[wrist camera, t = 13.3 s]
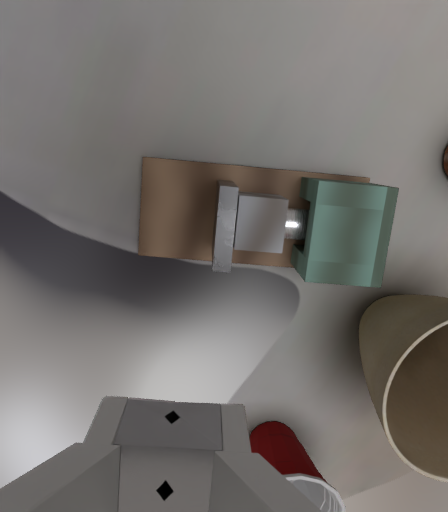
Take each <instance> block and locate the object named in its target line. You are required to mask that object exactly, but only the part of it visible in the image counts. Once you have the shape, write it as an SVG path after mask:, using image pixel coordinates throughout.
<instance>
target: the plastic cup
mask: <svg viewBox="0 0 448 512" xmlns="http://www.w3.org/2000/svg"><path fill="white" fill-rule="evenodd" d="M249 439H250V446H251V453H258V454H260V455H261V456H262V457H263V458H264V459H265V460H266V461H267V462H268V463H270V464H271V465H272V466H273V467H274V468H275V469H276V470H277V471H278V472H279V473H281V474H282V475H283V476H284V477H285V478H286V479H287V480H288V481H289V482H290V483H292V484H293V485H294V486H295V487H296V488H297V489H298V490H299V491H300V492H301V493H302V494H304V495H305V496H306V497H307V498H308V499H309V500H310V501H311V502H312V503H313V504H315V505H316V506H317V507H318V508H319V509H320V510H321V511H322V512H345V505H344V503H343V501H342V499H341V497H340V495H339V493H338V491H337V490H336V489H335V488H333V487H332V486H331V485H329V484H328V483H327V482H326V480H325V479H323V477H322V475H321V474H320V473H319V472H318V470H317V469H316V467H315V466H314V464H313V462H312V461H311V459H310V457H309V456H308V454H307V452H306V451H305V449H304V447H303V446H302V444H301V443H300V442H299V441H298V439H297V437H296V436H295V434H294V432H293V431H292V430H291V429H290V428H289V427H288V426H286V425H285V424H283V423H280V422H276V421H272V422H265V423H263V424H261V425H258V426H257V427H256V428H255V429H254V430H253V431H252V432H251V435H250V437H249Z"/></svg>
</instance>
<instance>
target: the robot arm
mask: <svg viewBox="0 0 448 512" xmlns="http://www.w3.org/2000/svg"><path fill="white" fill-rule="evenodd" d="M0 512H322V511H321V510H320V509H319V508H318V507H317V506H316V505H315V504H313V503H312V502H311V501H310V500H309V499H308V498H307V497H306V496H305V495H304V494H302V493H301V492H300V491H299V490H298V489H297V488H296V487H295V486H294V485H293V484H292V483H290V482H289V481H288V480H287V479H286V478H285V477H284V476H283V475H282V474H281V473H279V472H278V471H277V470H276V469H275V468H274V467H273V466H272V465H271V464H270V463H268V462H267V461H266V460H265V459H264V458H263V457H262V456H261V455H260V454H258V453H251V446H250V439H249V433H248V426H247V419H246V413H245V406H244V405H243V404H213V403H188V402H175V401H164V400H152V399H141V398H128V397H114V396H105V397H104V398H103V399H102V401H101V403H100V405H99V408H98V410H97V412H96V415H95V417H94V419H93V421H92V424H91V426H90V428H89V431H88V433H87V435H86V437H85V440H84V442H83V443H75V444H73V445H71V446H70V447H68V448H66V449H65V450H63V451H61V452H60V453H58V454H57V455H55V456H53V457H52V458H50V459H48V460H47V461H45V462H43V463H42V464H40V465H38V466H37V467H35V468H34V469H32V470H30V471H29V472H27V473H26V474H24V475H22V476H20V477H19V478H17V479H16V480H14V481H12V482H11V483H9V484H7V485H6V486H4V487H2V488H1V489H0Z"/></svg>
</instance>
